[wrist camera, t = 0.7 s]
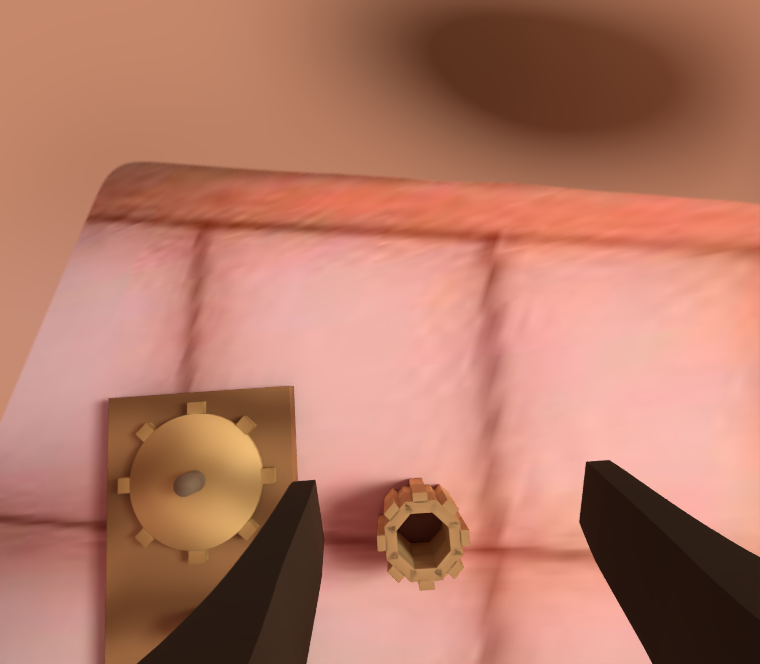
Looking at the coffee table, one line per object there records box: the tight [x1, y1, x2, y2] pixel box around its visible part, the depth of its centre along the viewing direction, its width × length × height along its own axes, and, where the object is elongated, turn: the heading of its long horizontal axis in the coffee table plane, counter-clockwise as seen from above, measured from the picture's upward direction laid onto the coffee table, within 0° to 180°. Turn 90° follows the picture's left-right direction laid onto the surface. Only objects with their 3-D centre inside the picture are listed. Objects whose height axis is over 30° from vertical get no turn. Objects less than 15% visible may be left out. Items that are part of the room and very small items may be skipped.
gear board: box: [105, 386, 298, 664], centre depth 30 cm, size 30×13×4 cm, turn 4°
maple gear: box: [377, 478, 470, 590], centre depth 30 cm, size 6×6×5 cm
